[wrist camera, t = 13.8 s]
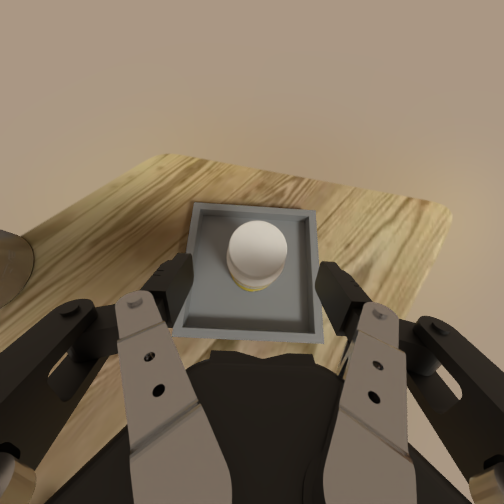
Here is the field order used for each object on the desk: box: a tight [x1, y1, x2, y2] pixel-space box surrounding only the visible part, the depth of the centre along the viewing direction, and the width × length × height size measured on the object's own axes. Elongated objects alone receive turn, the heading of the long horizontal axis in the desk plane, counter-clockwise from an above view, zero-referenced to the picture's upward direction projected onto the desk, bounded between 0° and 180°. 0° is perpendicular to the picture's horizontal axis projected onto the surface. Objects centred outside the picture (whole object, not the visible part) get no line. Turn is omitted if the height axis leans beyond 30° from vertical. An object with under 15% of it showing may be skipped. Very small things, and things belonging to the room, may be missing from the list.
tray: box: [172, 202, 324, 344], centre depth 20 cm, size 14×14×2 cm
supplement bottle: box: [226, 220, 287, 292], centre depth 16 cm, size 5×5×8 cm
